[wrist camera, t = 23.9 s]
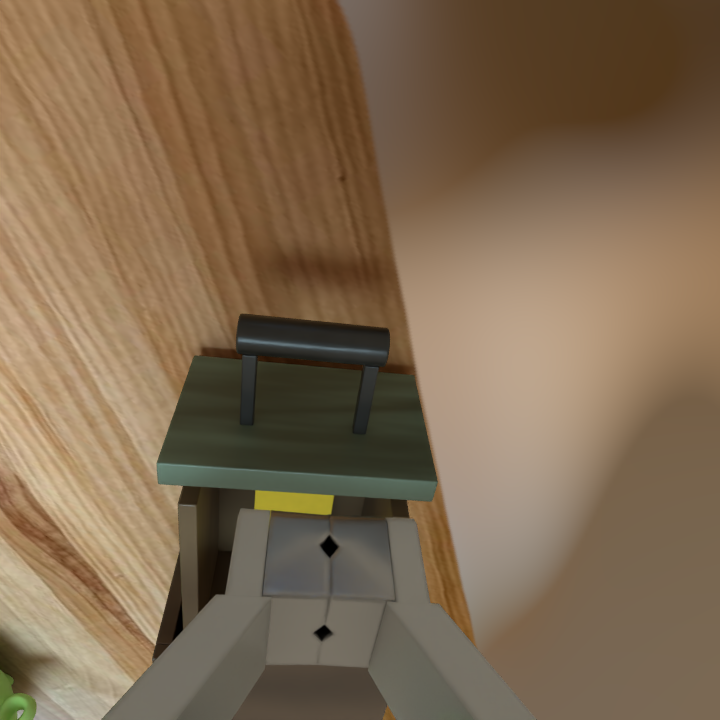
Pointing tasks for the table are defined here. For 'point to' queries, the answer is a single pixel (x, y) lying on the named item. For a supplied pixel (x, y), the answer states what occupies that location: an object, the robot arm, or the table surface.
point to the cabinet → (290, 681)
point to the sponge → (293, 502)
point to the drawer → (289, 437)
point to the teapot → (14, 701)
